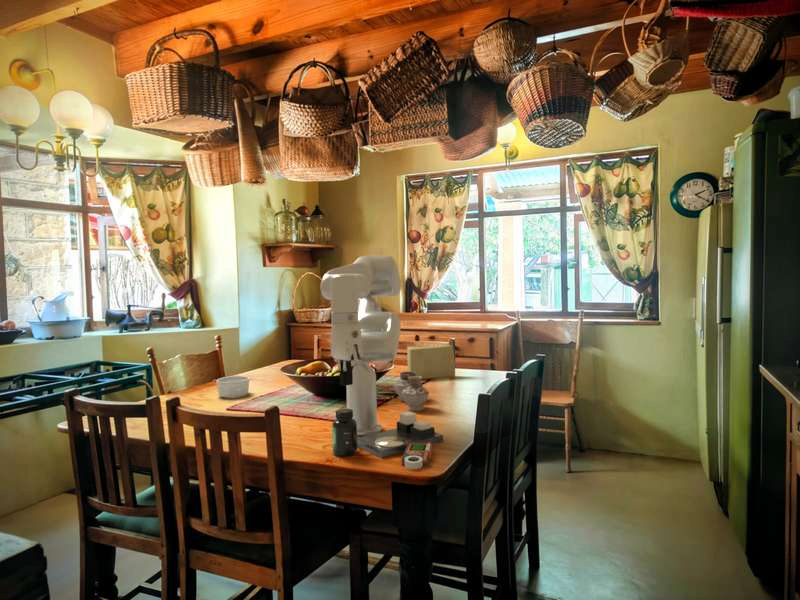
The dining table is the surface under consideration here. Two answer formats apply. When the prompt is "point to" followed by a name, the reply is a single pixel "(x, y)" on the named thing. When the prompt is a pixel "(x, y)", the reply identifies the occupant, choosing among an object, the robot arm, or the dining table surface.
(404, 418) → the block
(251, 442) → the dining table surface
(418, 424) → the white cube
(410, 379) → the pottery
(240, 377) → the ramekin
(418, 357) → the cheese
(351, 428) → the supplement bottle
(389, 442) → the breaker board
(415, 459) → the electronic device
